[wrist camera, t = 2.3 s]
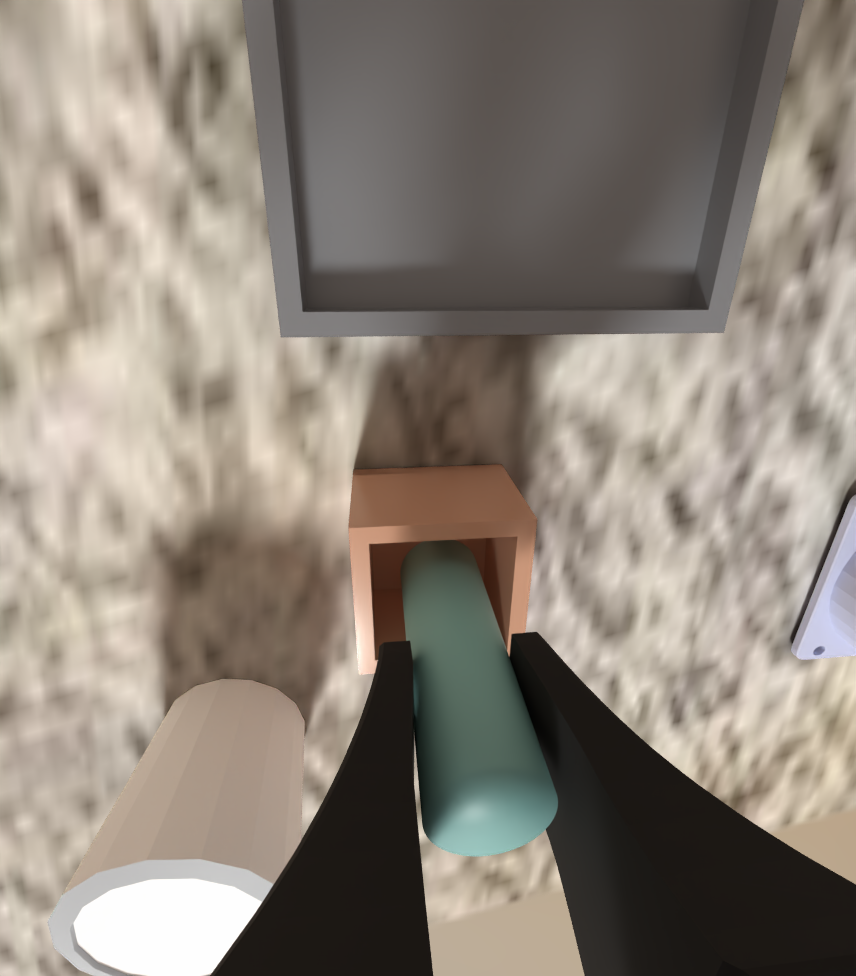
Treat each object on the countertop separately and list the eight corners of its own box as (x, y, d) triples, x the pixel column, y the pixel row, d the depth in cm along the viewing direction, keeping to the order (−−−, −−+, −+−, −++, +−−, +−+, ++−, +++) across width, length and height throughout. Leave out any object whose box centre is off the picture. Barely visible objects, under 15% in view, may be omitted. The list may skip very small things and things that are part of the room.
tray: (776, -131, 11) (853, -205, 10) (682, 324, 16) (723, 332, 14) (238, -178, 10) (211, -272, 8) (291, 327, 14) (281, 337, 13)
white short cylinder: (126, 676, 19) (3, 884, 13) (308, 657, 19) (278, 848, 13) (171, 793, 22) (90, 1010, 15) (329, 774, 22) (312, 976, 16)
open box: (501, 464, 17) (537, 519, 13) (493, 585, 19) (521, 662, 15) (353, 469, 16) (348, 527, 13) (361, 593, 18) (358, 674, 15)
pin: (478, 536, 15) (565, 761, 8) (475, 600, 16) (550, 848, 9) (399, 539, 15) (422, 774, 8) (401, 604, 16) (422, 863, 9)
